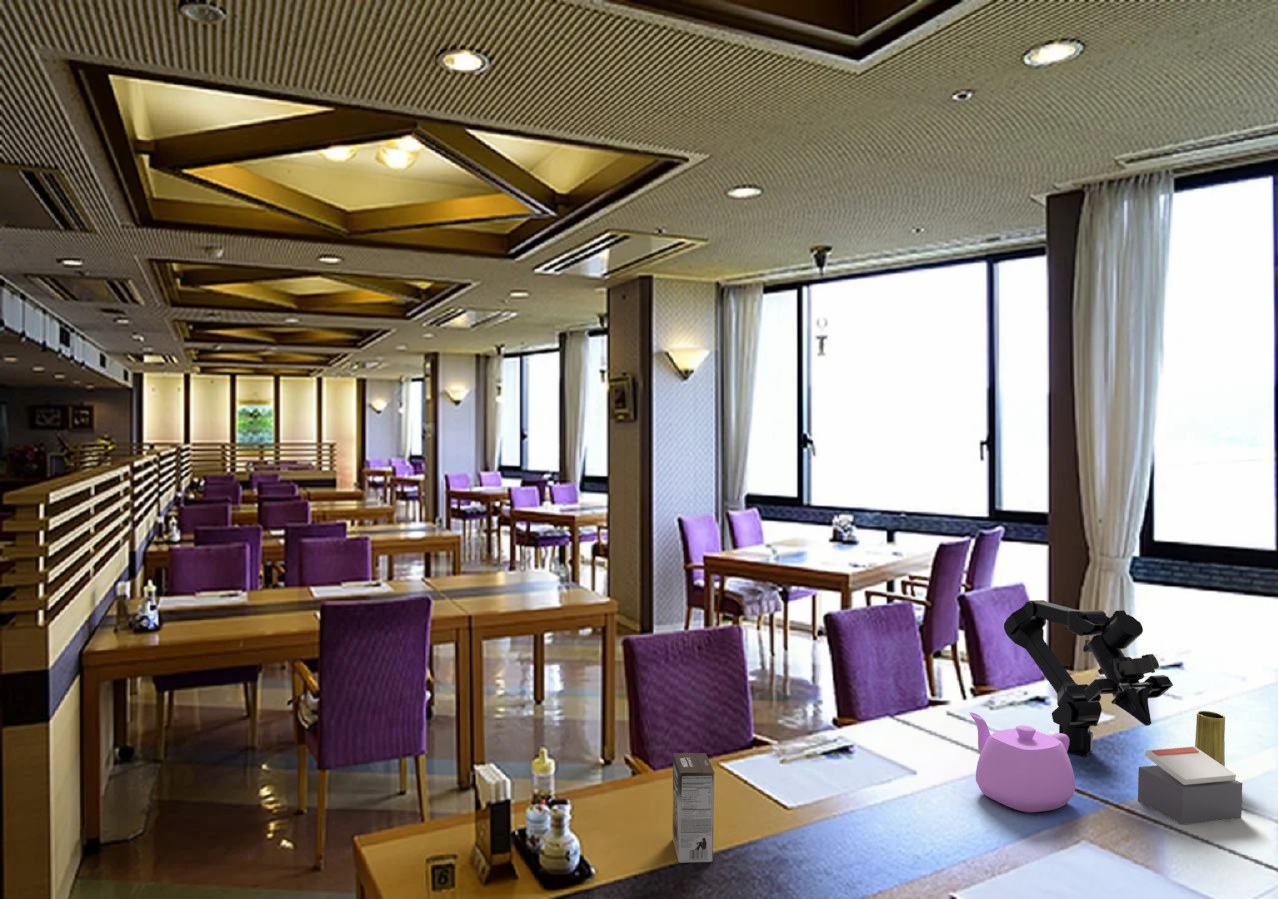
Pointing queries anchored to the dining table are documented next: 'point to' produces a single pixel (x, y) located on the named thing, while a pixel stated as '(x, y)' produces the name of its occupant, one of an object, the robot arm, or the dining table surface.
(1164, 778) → the switch box
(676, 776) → the coffee box
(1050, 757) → the teapot
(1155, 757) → the rocker
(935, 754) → the dining table surface
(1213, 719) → the vase
